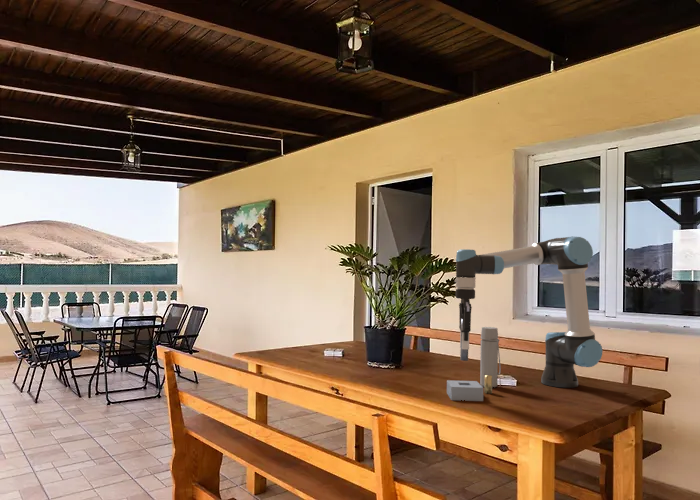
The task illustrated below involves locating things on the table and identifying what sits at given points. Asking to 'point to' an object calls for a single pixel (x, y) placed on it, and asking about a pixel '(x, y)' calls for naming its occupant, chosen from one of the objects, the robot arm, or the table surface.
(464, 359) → the long pin
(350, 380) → the table surface
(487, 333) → the water bottle
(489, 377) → the short pin
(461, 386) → the socket block
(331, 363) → the table surface
